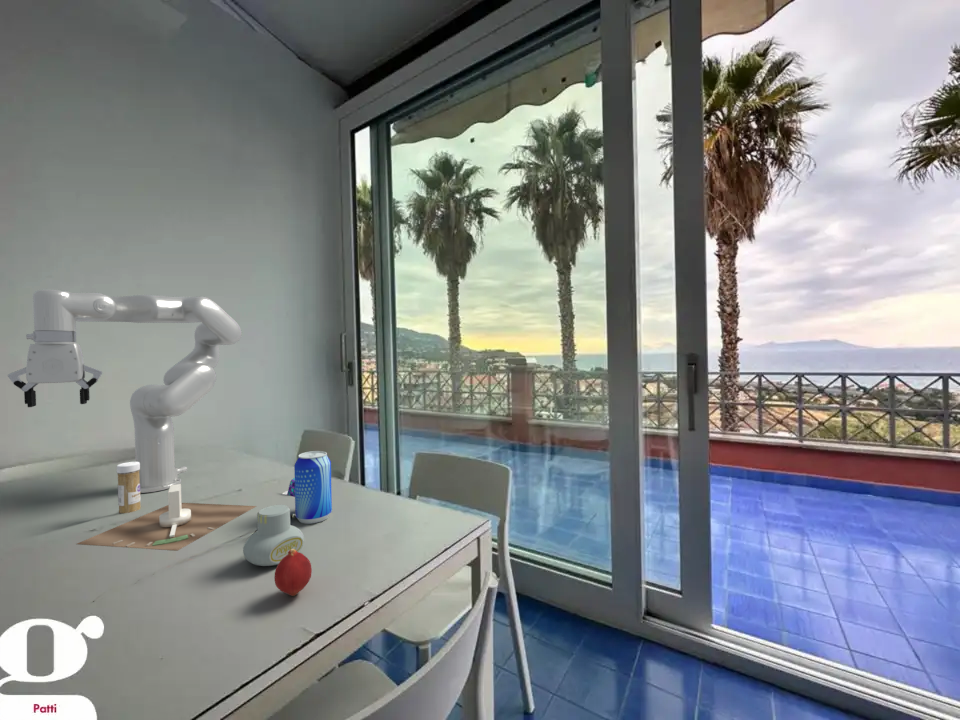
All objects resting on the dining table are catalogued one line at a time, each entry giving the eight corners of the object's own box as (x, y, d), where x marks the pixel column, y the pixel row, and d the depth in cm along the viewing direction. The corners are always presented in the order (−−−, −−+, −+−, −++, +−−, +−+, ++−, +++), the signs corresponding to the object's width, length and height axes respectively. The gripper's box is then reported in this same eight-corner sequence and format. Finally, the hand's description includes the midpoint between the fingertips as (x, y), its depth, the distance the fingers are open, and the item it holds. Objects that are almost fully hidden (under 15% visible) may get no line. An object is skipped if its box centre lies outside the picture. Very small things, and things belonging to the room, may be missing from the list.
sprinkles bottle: (140, 516, 106) (138, 463, 106) (116, 520, 103) (114, 466, 103) (142, 510, 110) (140, 460, 109) (119, 514, 107) (118, 462, 107)
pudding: (274, 506, 113) (274, 486, 113) (284, 491, 125) (284, 474, 125) (321, 501, 116) (321, 483, 116) (326, 488, 127) (326, 470, 127)
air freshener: (259, 577, 77) (258, 524, 77) (235, 565, 81) (234, 514, 81) (311, 552, 86) (310, 504, 86) (287, 543, 90) (286, 497, 90)
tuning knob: (161, 520, 99) (160, 486, 99) (191, 514, 102) (190, 482, 102) (154, 540, 88) (153, 503, 88) (188, 533, 91) (187, 497, 91)
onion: (282, 586, 74) (281, 541, 74) (316, 584, 74) (315, 539, 74) (269, 606, 68) (268, 557, 68) (305, 604, 69) (304, 556, 68)
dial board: (174, 507, 111) (174, 501, 111) (256, 511, 108) (256, 505, 108) (76, 550, 88) (75, 543, 88) (177, 557, 84) (177, 549, 84)
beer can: (339, 514, 106) (338, 451, 105) (313, 527, 98) (311, 460, 98) (314, 509, 109) (313, 448, 109) (287, 521, 102) (286, 456, 101)
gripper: (0, 338, 99) (3, 409, 100) (97, 338, 108) (99, 404, 109) (13, 338, 106) (16, 406, 106) (104, 339, 115) (106, 401, 115)
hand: (58, 405), depth 107 cm, fingers open, 9 cm apart
